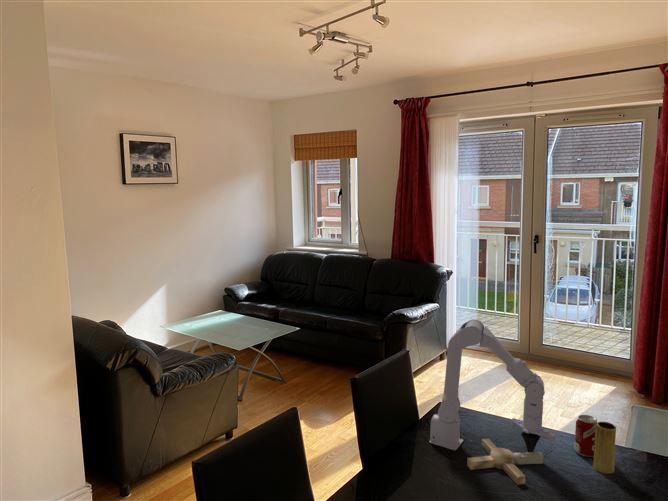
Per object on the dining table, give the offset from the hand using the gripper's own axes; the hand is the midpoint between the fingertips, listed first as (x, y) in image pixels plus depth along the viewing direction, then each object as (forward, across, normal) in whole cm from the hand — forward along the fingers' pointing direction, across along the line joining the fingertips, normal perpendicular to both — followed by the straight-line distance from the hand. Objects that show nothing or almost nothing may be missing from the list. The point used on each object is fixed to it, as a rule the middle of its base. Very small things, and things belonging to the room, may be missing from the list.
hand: (530, 453), depth 161 cm
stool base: (+1, -6, -14) cm, 15 cm away
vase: (+1, +18, +12) cm, 21 cm away
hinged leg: (+1, +1, -3) cm, 4 cm away
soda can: (+1, +10, +16) cm, 19 cm away
